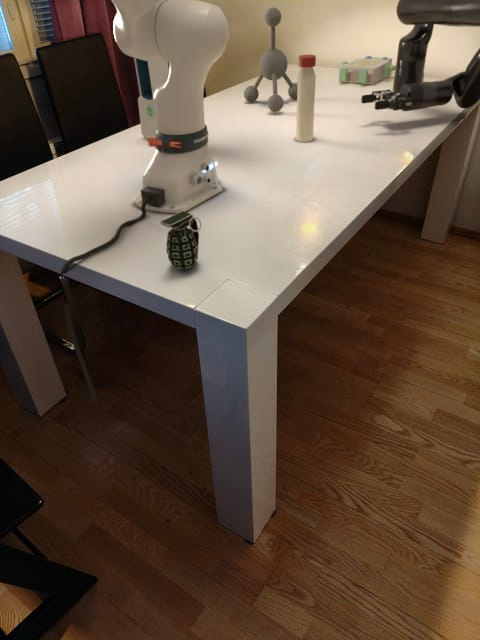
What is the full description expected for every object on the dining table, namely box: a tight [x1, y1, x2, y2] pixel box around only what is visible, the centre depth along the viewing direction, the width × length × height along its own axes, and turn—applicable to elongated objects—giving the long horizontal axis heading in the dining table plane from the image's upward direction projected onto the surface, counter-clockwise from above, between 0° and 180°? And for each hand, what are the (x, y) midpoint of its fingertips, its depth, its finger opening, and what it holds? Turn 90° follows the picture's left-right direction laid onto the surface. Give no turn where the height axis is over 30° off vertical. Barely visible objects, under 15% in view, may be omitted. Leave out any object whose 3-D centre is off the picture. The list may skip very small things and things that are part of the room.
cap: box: [298, 54, 317, 68], centre depth 133 cm, size 5×5×2 cm
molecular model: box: [243, 6, 298, 113], centre depth 169 cm, size 24×22×30 cm
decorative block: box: [338, 55, 396, 85], centre depth 201 cm, size 26×6×20 cm
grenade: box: [159, 211, 202, 271], centre depth 88 cm, size 7×6×10 cm
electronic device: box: [133, 57, 170, 140], centre depth 143 cm, size 12×8×30 cm, turn 47°
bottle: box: [295, 67, 317, 143], centre depth 139 cm, size 5×5×22 cm
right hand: (368, 102), depth 144 cm, fingers open, 8 cm apart
